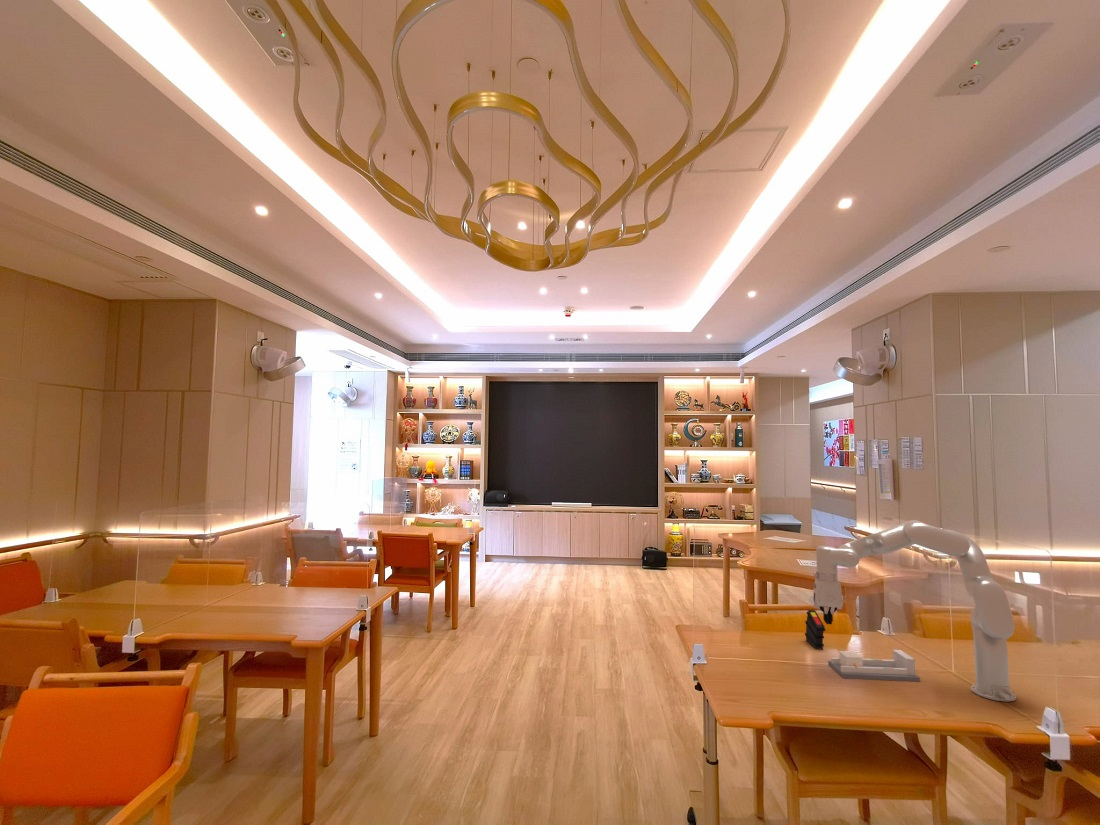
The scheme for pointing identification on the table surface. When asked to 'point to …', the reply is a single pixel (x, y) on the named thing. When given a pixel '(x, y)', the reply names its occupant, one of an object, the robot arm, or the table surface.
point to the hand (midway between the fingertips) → (828, 623)
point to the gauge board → (880, 668)
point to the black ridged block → (814, 630)
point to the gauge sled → (850, 659)
